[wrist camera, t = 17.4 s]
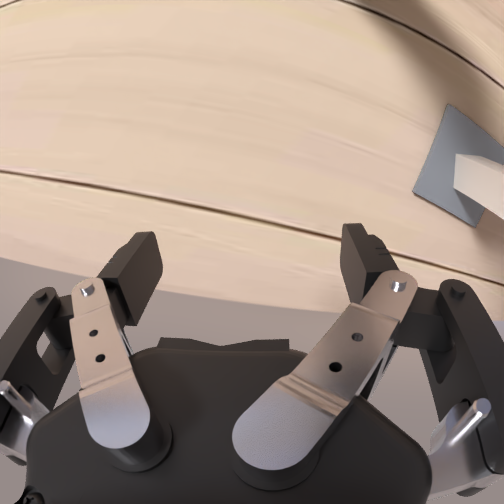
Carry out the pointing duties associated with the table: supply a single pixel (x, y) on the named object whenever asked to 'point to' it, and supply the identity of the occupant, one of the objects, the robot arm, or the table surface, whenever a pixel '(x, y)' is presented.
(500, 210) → the cream block
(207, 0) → the table surface
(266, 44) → the table surface
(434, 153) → the grey mat
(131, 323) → the robot arm
